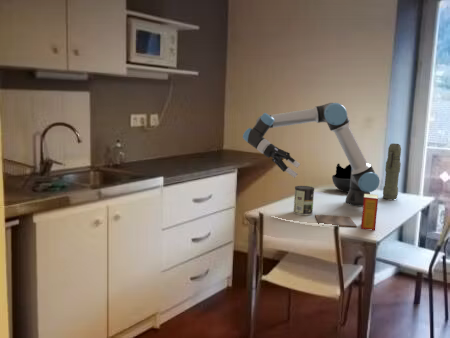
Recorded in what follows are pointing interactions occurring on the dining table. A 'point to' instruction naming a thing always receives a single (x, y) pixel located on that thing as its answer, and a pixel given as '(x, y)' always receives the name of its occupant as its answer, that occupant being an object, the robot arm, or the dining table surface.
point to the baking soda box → (369, 211)
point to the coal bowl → (342, 178)
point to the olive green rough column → (392, 172)
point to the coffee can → (303, 200)
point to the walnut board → (336, 220)
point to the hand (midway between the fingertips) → (297, 171)
